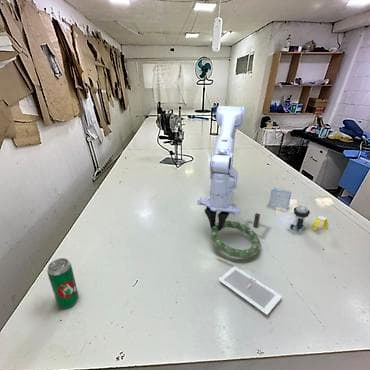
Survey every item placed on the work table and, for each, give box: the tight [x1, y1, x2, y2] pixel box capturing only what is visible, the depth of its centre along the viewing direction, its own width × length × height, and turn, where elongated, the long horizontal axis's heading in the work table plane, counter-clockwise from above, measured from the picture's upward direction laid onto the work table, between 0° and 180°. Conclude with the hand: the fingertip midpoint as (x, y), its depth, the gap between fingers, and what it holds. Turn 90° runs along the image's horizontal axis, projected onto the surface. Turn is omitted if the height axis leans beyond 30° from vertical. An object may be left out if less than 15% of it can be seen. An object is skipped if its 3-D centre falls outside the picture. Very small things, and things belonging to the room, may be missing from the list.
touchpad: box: [217, 265, 283, 315], centre depth 63 cm, size 8×15×2 cm, turn 43°
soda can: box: [46, 257, 80, 309], centre depth 57 cm, size 5×5×12 cm
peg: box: [252, 212, 261, 229], centre depth 89 cm, size 8×8×6 cm
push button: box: [289, 205, 311, 232], centre depth 87 cm, size 7×5×10 cm
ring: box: [209, 219, 262, 259], centre depth 77 cm, size 16×16×2 cm
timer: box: [312, 215, 329, 232], centre depth 88 cm, size 6×3×6 cm, turn 110°
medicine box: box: [268, 186, 292, 210], centre depth 105 cm, size 8×4×9 cm, turn 58°
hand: (216, 228), depth 80 cm, fingers closed on ring, 2 cm apart
